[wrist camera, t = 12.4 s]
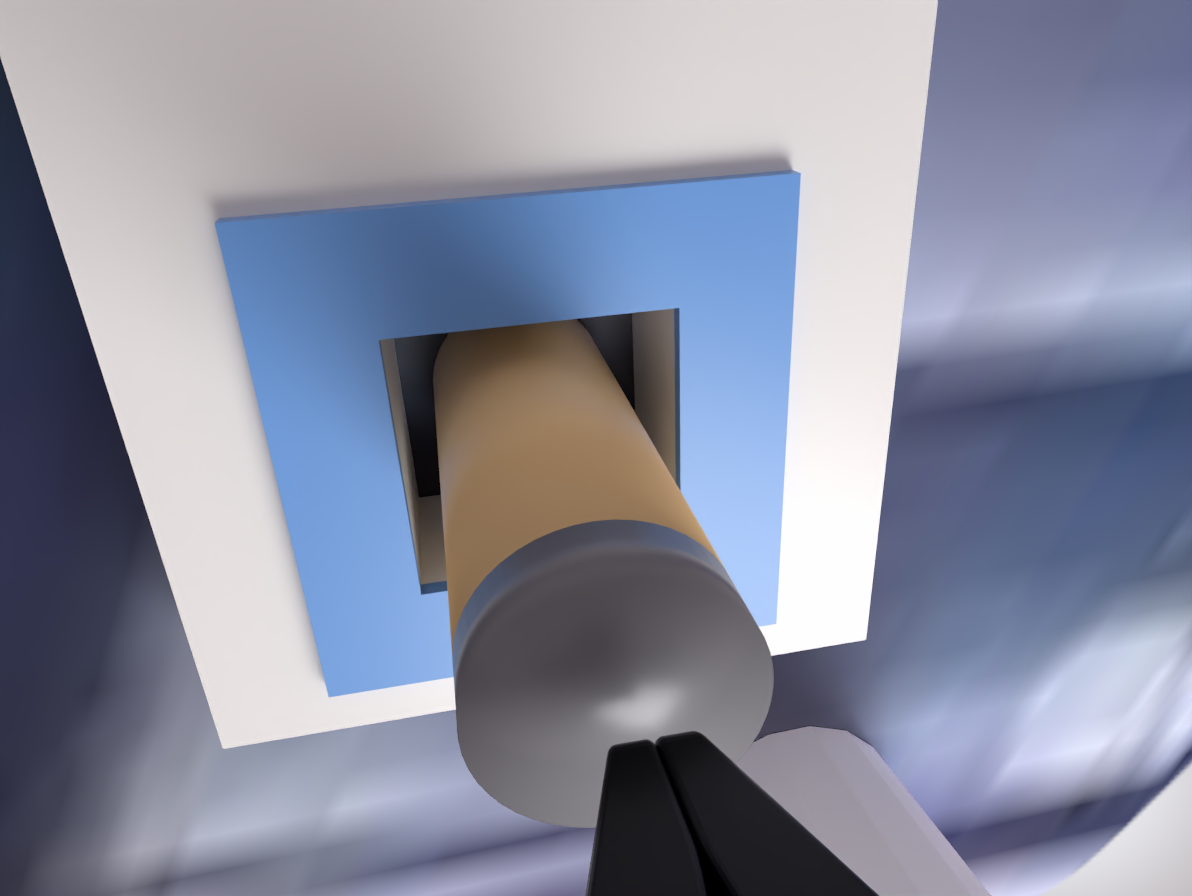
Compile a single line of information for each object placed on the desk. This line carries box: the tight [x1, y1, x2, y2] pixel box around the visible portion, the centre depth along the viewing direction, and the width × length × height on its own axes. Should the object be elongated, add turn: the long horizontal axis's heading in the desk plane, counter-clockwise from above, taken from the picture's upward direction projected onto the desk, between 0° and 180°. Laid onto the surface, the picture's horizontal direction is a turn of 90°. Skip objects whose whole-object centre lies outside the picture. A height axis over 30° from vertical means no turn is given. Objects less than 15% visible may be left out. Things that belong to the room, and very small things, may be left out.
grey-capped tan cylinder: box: [433, 319, 774, 828], centre depth 13 cm, size 3×3×9 cm
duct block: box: [0, 0, 938, 749], centre depth 12 cm, size 12×22×3 cm, turn 2°
